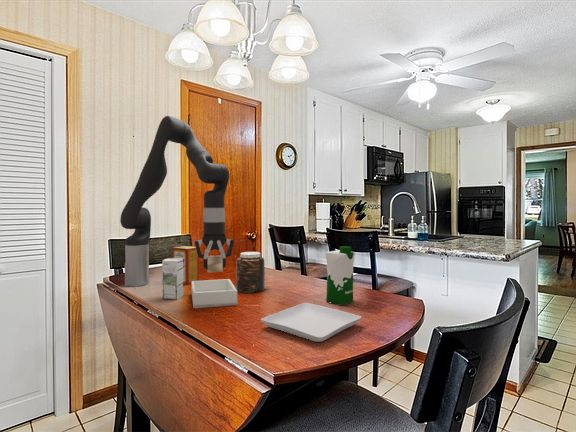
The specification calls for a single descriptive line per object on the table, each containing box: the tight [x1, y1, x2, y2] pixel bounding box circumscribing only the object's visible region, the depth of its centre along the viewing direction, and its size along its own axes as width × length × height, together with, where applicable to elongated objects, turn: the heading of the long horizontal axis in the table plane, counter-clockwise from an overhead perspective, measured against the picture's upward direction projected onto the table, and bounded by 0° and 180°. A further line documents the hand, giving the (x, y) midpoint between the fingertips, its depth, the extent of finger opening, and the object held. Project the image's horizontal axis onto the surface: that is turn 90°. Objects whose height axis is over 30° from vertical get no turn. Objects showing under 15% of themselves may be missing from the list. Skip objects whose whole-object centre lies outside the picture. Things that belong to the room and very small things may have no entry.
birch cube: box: [206, 254, 224, 273], centre depth 121 cm, size 5×5×5 cm
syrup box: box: [161, 257, 184, 300], centre depth 128 cm, size 6×6×14 cm
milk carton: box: [325, 245, 356, 306], centre depth 124 cm, size 9×9×20 cm
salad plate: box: [260, 302, 362, 343], centre depth 98 cm, size 21×21×3 cm
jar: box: [235, 251, 266, 294], centre depth 141 cm, size 12×12×15 cm
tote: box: [190, 278, 238, 309], centre depth 127 cm, size 15×20×5 cm
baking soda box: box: [171, 245, 200, 286], centre depth 154 cm, size 10×6×16 cm
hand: (214, 268), depth 122 cm, fingers closed on birch cube, 5 cm apart
